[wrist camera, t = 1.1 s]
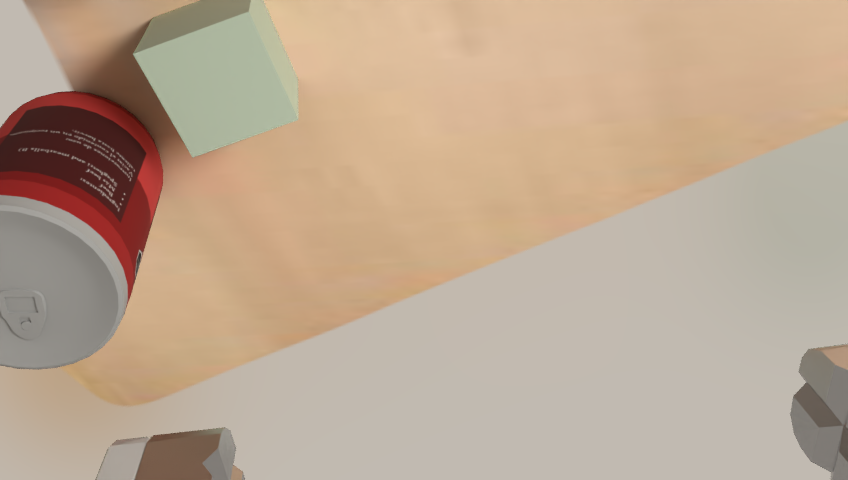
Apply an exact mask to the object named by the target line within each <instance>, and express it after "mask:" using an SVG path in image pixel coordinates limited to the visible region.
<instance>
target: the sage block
mask: <svg viewBox="0 0 848 480" xmlns="http://www.w3.org/2000/svg"><path fill="white" fill-rule="evenodd" d="M133 55H134V57H135V59H136V60H137V62H138V64H139V66H140V67H141V69H142V71H143V73H144V74H145V76H146V78H147V79H148V81H149V83H150V85H151V86H152V88H153V90H154V92H155V93H156V95H157V97H158V99H159V100H160V102H161V104H162V105H163V107H164V109H165V111H166V112H167V114H168V116H169V118H170V119H171V121H172V123H173V125H174V126H175V128H176V130H177V132H178V133H179V135H180V137H181V138H182V140H183V142H184V144H185V145H186V147H187V149H188V151H189V152H190V154H191V156H192V158H193V157H196V156H199V155H202V154H204V153H207V152H210V151H213V150H216V149H218V148H221V147H224V146H227V145H229V144H232V143H235V142H238V141H241V140H243V139H246V138H249V137H252V136H255V135H257V134H260V133H263V132H266V131H269V130H271V129H274V128H277V127H280V126H282V125H285V124H288V123H291V122H294V121H296V120H298V77H297V75H296V73H295V71H294V68H293V66H292V64H291V62H290V59H289V57H288V55H287V53H286V50H285V48H284V46H283V44H282V41H281V39H280V37H279V35H278V32H277V30H276V28H275V25H274V23H273V21H272V19H271V16H270V14H269V12H268V10H267V7H266V5H265V3H264V1H263V0H200V1H197V2H194V3H192V4H189V5H186V6H184V7H181V8H178V9H175V10H173V11H170V12H167V13H165V14H162V15H159V16H157V17H154V18H152V20H151V22H150V24H149V26H148V28H147V29H146V31H145V33H144V35H143V37H142V38H141V40H140V42H139V44H138V46H137V48H136V49H135V51H134V53H133Z"/></svg>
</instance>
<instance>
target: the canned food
mask: <svg viewBox="0 0 848 480" xmlns="http://www.w3.org/2000/svg"><path fill="white" fill-rule="evenodd" d="M162 185H163V169H162V165H161V160H160V156H159V153H158V150H157V148H156V145H155V143H154V141H153V139H152V137H151V135H150V134H149V132H148V131H147V130H146V128H145V127H144V125H143V124H142V123H141V122H140V121H139V120H138V119H137V118H136V117H135V116H134V115H133V114H131V113H130V112H129V111H127V110H126V109H124V108H123V107H122V106H120V105H118V104H116V103H114V102H112V101H110V100H108V99H106V98H103V97H100V96H97V95H94V94H91V93H83V92H76V91H70V92H57V93H53V94H49V95H45V96H41V97H37V98H35V99H33V100H31V101H29V102H27V103H25V104H23V105H22V106H20V107H19V108H18V109H17V110H16V111H14V112H13V113H12V114H11V115H10V116H9V118H8V119H7V120H6V121H5V123H4V124H3V125H2V126H1V128H0V365H1V366H6V367H12V368H17V369H48V368H57V367H61V366H65V365H69V364H73V363H76V362H78V361H80V360H82V359H85V358H87V357H89V356H91V355H92V354H94V353H95V352H96V351H98V350H99V349H101V348H102V347H103V346H104V345H105V344H106V343H107V342H108V341H109V340H110V339H111V337H112V336H113V335H114V333H115V331H116V329H117V327H118V326H119V324H120V321H121V320H122V318H123V316H124V314H125V310H126V307H127V304H128V301H129V299H130V296H131V292H132V289H133V286H134V282H135V279H136V276H137V272H138V269H139V265H140V262H141V259H142V255H143V252H144V248H145V245H146V242H147V238H148V235H149V231H150V228H151V225H152V221H153V218H154V214H155V211H156V208H157V204H158V201H159V197H160V193H161V189H162Z"/></svg>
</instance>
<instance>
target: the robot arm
mask: <svg viewBox="0 0 848 480" xmlns="http://www.w3.org/2000/svg"><path fill="white" fill-rule="evenodd" d="M799 373H800V374H801V376H802V377H803V378H804V380H805V381H806V383H805V385H804V386H803V387H802V388H801V389H800V390H799V391H798V392H797V393H796V394H795V395H794V397H793V402H792V408H791V419H792V425H793V430H794V434H795V436H796V439H797V441H798V443H799V445H800V447H801V449H802V450H803V451H804V453H805V454H806V455H807V457H808V458H809V459H810V461H811V462H813V463H815V464H817V465H819V466H820V467H822V468H824V469H826V470H828V471H830V472H831V480H848V344H842V345H834V346H828V347H820V348H813V349H808V351H807V352H806V353H805V354H804V356H803V357H802V360H801V364H800V368H799ZM235 451H236V447H235V444H234V441H233V438H232V435H231V432H230V430H228V429H227V428H216V429H208V430H198V431H189V432H180V433H171V434H161V435H154V436H153V437H141V438H133V439H123V440H116V441H115V442H114V443H113V444H112V445H111V446H110V447H109V448H108V450H107V452H106V454H105V457H104V460H103V462H102V464H101V467H100V469H99V472H98V474H97V477H96V480H245V478H244V475H243V472H242V471H241V470H240V469H238V468H237V467H236V466H234V465H233V463H234V457H235Z"/></svg>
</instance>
